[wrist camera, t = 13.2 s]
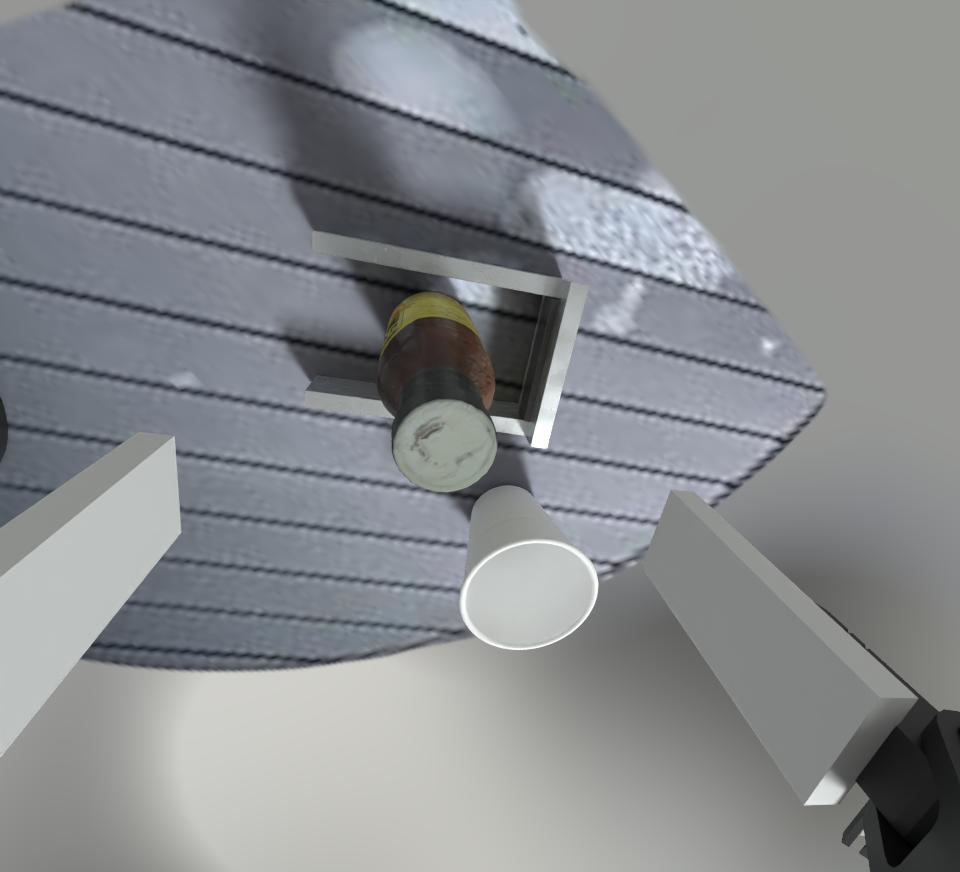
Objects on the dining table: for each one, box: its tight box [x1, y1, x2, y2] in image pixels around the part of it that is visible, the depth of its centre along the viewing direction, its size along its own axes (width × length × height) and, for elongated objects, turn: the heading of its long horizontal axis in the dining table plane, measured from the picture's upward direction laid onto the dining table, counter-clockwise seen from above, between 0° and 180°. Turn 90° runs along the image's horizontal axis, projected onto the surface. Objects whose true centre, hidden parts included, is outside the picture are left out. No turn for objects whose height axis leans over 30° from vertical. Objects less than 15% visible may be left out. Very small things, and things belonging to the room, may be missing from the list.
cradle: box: [304, 231, 589, 448], centre depth 32 cm, size 17×11×6 cm, turn 79°
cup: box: [459, 485, 598, 650], centre depth 37 cm, size 10×10×11 cm
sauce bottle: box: [377, 291, 498, 492], centre depth 26 cm, size 7×6×20 cm
